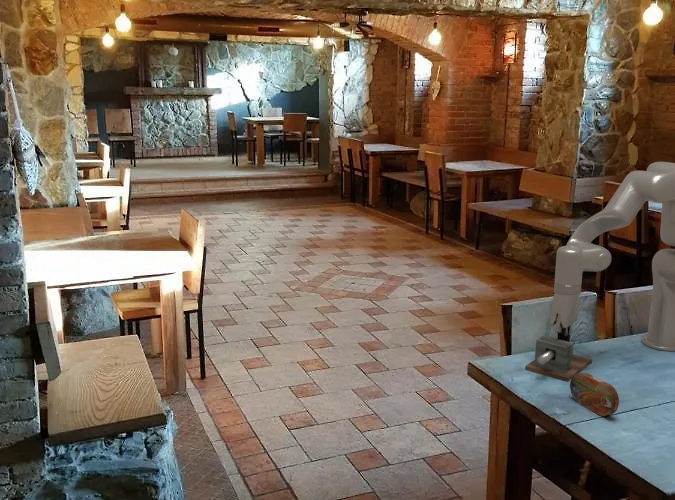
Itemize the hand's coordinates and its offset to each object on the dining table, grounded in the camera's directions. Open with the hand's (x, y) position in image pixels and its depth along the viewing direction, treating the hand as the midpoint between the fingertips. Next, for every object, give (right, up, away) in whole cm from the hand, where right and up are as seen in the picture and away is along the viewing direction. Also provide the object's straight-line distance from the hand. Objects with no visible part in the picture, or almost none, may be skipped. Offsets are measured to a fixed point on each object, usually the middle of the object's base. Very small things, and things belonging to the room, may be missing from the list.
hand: (562, 346), depth 204 cm
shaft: (-6, -4, -6) cm, 9 cm away
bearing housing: (-1, -6, +1) cm, 6 cm away
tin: (-1, -13, -26) cm, 29 cm away
